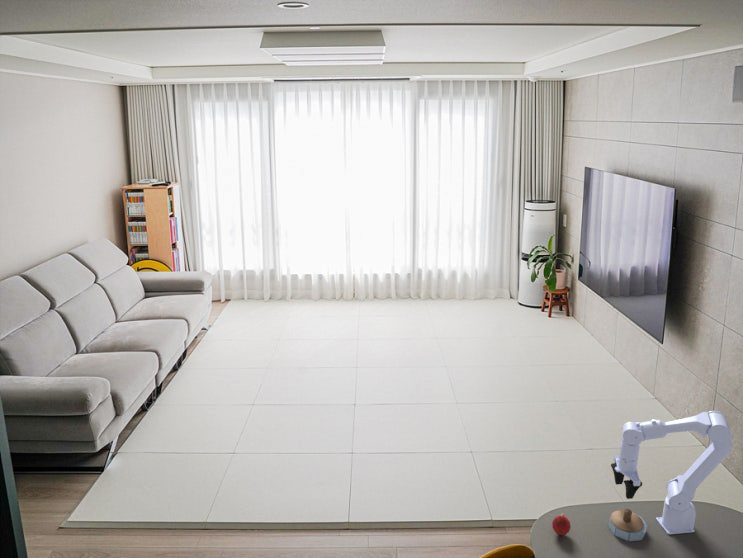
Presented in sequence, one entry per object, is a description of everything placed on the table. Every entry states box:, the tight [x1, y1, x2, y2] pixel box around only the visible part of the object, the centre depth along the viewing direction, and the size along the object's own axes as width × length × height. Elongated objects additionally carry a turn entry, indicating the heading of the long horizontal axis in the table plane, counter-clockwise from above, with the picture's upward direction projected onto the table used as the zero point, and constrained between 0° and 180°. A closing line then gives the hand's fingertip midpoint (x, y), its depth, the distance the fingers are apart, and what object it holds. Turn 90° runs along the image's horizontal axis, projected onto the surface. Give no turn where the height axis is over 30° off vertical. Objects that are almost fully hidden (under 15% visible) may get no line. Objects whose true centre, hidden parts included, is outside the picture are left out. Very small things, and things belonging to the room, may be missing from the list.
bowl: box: [608, 514, 648, 542], centre depth 217 cm, size 11×11×3 cm
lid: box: [610, 508, 643, 532], centre depth 216 cm, size 10×10×4 cm
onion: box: [551, 513, 571, 536], centre depth 214 cm, size 6×6×8 cm
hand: (624, 490), depth 220 cm, fingers open, 7 cm apart
